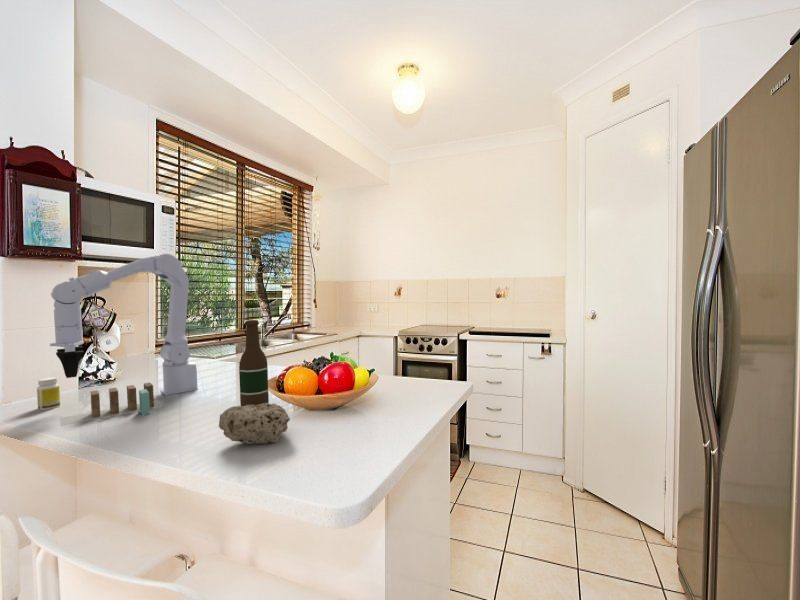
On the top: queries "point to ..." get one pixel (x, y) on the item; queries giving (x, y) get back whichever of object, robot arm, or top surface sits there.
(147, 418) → the top surface
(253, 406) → the pumice stone
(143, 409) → the tile
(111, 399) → the tile
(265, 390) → the beer bottle
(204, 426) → the top surface
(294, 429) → the top surface
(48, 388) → the supplement bottle
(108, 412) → the runner mat
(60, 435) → the top surface
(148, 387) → the tile
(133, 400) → the tile
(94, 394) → the tile
